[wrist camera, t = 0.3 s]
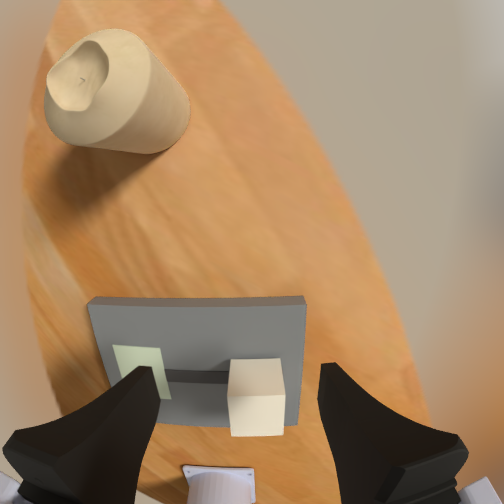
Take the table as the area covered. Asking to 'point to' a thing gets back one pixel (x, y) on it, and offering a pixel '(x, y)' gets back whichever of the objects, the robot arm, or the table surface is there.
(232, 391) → the knob
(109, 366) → the slider board
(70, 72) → the candle
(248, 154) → the table surface
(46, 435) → the robot arm
